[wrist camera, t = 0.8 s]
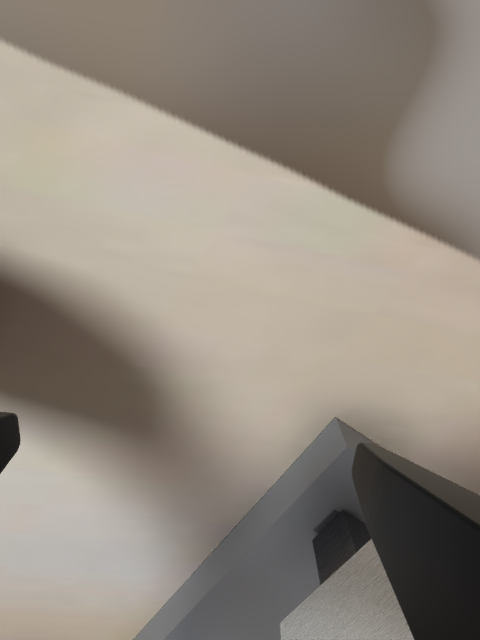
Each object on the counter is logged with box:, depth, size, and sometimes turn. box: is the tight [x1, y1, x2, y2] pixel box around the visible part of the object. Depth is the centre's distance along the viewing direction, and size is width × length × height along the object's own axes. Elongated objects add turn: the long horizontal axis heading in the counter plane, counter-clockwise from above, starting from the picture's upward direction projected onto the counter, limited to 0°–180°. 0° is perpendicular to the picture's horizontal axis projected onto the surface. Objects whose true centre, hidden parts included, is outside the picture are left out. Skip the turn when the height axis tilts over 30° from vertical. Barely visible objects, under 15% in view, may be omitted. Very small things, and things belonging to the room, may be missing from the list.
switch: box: [280, 510, 414, 640], centre depth 18 cm, size 2×10×7 cm, turn 145°
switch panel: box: [133, 417, 377, 640], centre depth 26 cm, size 14×30×3 cm, turn 145°
